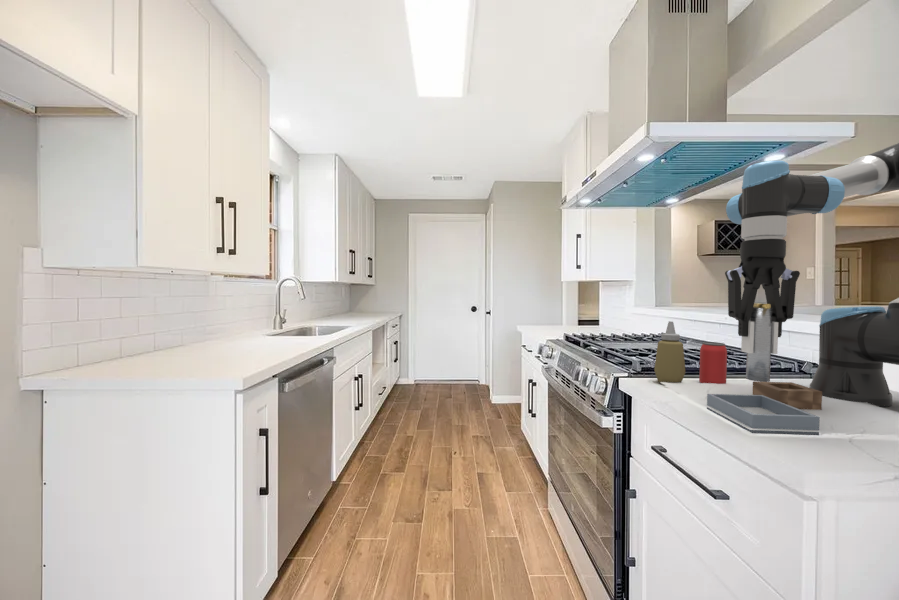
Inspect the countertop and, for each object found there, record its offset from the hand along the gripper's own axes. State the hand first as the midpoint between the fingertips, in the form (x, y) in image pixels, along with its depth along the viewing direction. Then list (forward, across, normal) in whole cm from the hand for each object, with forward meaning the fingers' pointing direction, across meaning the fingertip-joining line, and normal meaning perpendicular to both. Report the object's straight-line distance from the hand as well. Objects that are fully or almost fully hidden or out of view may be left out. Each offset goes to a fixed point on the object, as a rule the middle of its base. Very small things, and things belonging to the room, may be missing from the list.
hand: (758, 352), depth 87 cm
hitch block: (+14, -13, -11) cm, 22 cm away
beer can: (+15, -9, -34) cm, 38 cm away
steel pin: (+6, 0, 0) cm, 6 cm away
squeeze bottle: (+15, +3, -34) cm, 37 cm away
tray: (+14, 0, 0) cm, 14 cm away
